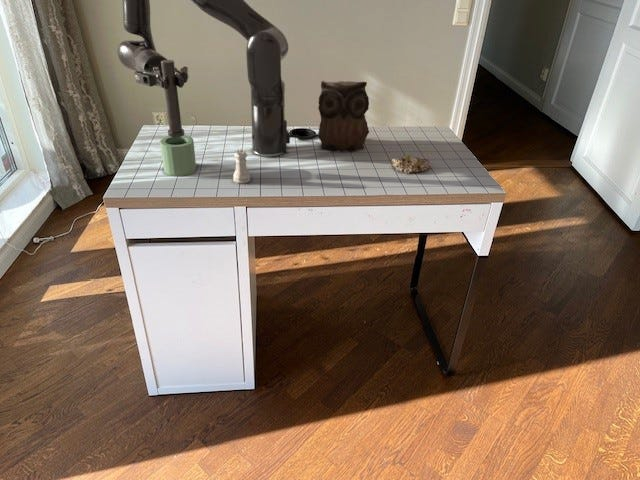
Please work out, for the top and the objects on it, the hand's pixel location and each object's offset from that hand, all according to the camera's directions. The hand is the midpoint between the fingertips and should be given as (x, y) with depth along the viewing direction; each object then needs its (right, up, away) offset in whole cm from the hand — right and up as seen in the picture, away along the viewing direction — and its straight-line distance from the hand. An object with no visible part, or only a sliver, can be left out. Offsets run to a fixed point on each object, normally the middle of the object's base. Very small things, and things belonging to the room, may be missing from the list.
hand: (173, 84), depth 115 cm
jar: (-3, -18, +15) cm, 23 cm away
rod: (-2, -10, +9) cm, 14 cm away
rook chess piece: (+14, -22, +11) cm, 28 cm away
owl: (+41, -8, +35) cm, 54 cm away
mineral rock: (+60, -17, +22) cm, 66 cm away
